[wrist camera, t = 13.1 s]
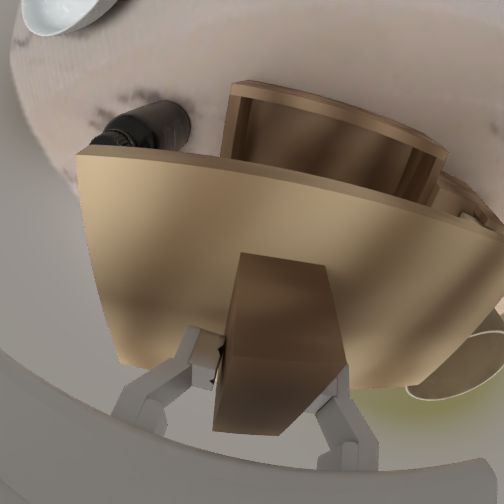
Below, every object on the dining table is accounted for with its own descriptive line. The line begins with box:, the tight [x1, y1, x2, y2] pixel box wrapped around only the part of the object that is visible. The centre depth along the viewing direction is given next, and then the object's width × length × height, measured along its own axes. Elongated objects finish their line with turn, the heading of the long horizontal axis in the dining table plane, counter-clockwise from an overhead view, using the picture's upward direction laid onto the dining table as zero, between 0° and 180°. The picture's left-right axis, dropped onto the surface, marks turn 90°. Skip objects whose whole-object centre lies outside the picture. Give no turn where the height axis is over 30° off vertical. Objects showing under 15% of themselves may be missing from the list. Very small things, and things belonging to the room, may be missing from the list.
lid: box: [76, 145, 504, 436], centre depth 12 cm, size 21×13×6 cm, turn 79°
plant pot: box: [405, 308, 504, 401], centre depth 31 cm, size 15×15×16 cm
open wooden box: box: [220, 80, 504, 235], centre depth 26 cm, size 28×12×11 cm, turn 80°
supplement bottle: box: [89, 101, 190, 151], centre depth 27 cm, size 7×7×12 cm
